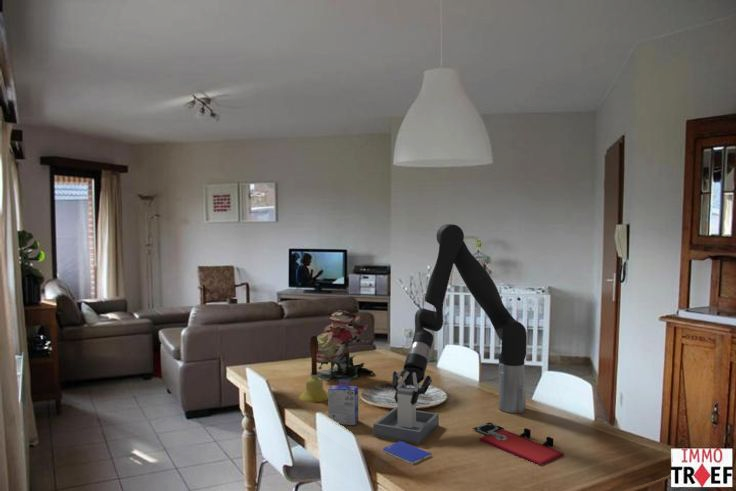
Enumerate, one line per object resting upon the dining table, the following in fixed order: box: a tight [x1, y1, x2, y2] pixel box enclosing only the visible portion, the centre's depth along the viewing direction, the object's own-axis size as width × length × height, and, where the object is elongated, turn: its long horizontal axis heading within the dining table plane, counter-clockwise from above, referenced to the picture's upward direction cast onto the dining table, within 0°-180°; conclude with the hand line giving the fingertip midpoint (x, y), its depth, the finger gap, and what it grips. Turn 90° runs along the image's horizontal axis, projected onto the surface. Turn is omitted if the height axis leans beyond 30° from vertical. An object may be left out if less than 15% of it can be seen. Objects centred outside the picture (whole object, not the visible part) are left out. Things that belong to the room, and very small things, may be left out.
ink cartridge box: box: [327, 379, 359, 426], centre depth 186 cm, size 10×6×14 cm, turn 78°
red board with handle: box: [472, 422, 565, 466], centre depth 167 cm, size 30×3×15 cm
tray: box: [372, 406, 440, 446], centre depth 178 cm, size 16×18×4 cm
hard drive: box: [382, 441, 432, 465], centre depth 160 cm, size 2×8×12 cm
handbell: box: [298, 334, 328, 403], centre depth 214 cm, size 12×12×25 cm
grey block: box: [396, 386, 417, 428], centre depth 178 cm, size 5×4×12 cm
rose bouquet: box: [310, 309, 375, 383], centre depth 246 cm, size 26×29×30 cm
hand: (404, 402), depth 176 cm, fingers closed on grey block, 5 cm apart
